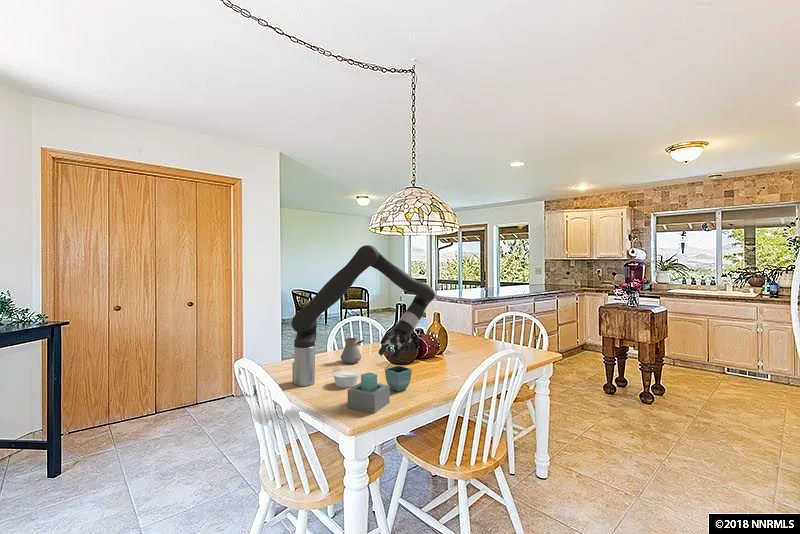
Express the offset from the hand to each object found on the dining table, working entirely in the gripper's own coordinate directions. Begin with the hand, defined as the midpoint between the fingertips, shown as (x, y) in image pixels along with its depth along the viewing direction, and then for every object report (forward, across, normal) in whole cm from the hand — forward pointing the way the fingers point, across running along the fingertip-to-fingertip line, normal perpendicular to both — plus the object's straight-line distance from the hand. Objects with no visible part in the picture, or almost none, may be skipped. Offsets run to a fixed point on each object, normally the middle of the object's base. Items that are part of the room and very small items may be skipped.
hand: (386, 356), depth 159 cm
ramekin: (+13, -27, +12) cm, 32 cm away
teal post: (+18, 0, +5) cm, 19 cm away
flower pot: (+4, -6, +21) cm, 22 cm away
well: (+19, 0, +6) cm, 20 cm away
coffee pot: (-4, -51, +29) cm, 59 cm away
